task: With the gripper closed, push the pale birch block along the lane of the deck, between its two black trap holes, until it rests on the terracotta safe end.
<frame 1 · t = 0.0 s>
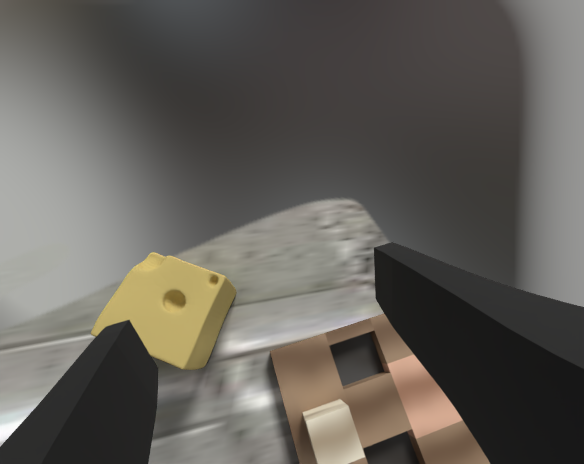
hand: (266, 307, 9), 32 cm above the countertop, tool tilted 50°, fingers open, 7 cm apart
block: (327, 427, 34), point 2 cm above the countertop, touching trap deck
cheese: (189, 314, 40), on the countertop
trap deck: (378, 402, 37), on the countertop
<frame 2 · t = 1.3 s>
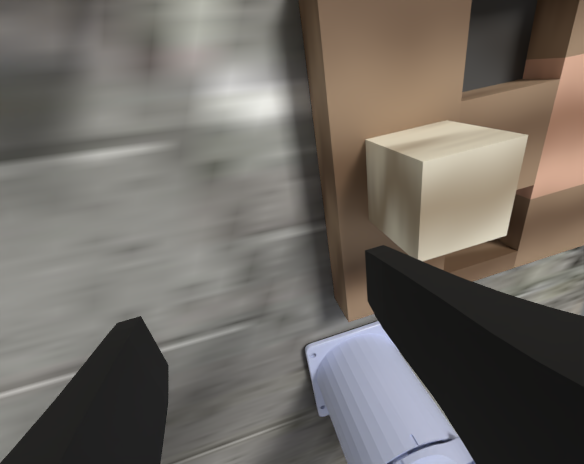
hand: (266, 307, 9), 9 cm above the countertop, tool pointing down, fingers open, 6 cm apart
block: (405, 172, 16), point 2 cm above the countertop, touching trap deck
trap deck: (481, 136, 19), on the countertop
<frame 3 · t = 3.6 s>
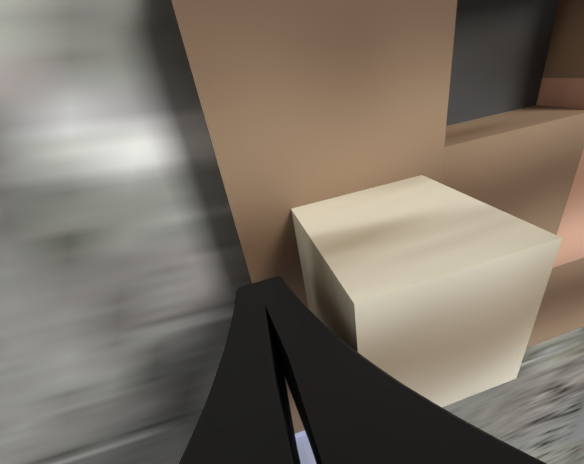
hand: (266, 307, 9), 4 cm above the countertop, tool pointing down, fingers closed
block: (361, 250, 11), point 3 cm above the countertop, touching gripper, trap deck
trap deck: (477, 182, 14), on the countertop
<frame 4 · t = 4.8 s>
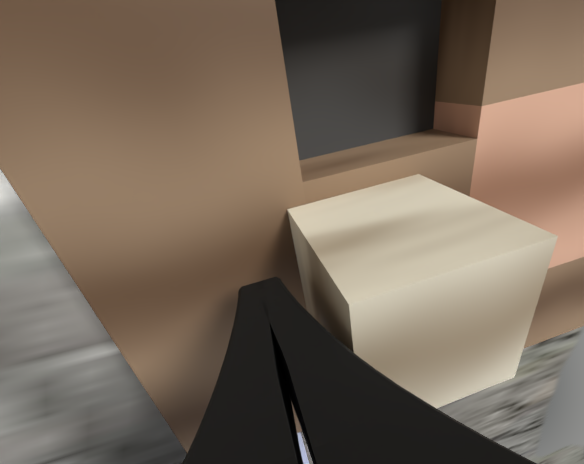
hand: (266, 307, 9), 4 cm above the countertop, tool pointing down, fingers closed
block: (359, 250, 11), point 3 cm above the countertop, touching gripper, trap deck
trap deck: (383, 207, 13), on the countertop
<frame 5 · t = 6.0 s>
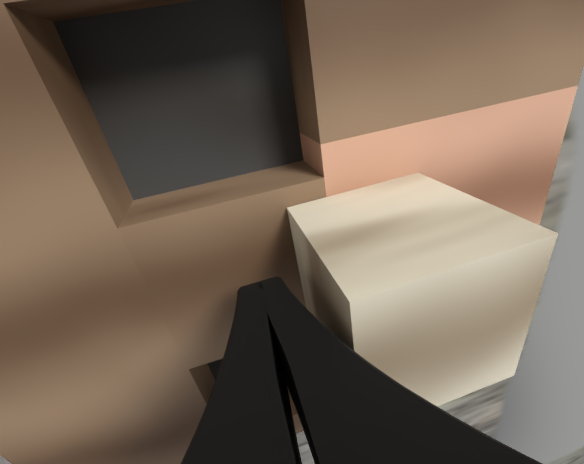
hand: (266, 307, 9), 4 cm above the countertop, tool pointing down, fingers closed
block: (358, 248, 11), point 3 cm above the countertop, touching gripper, trap deck
trap deck: (265, 240, 12), on the countertop
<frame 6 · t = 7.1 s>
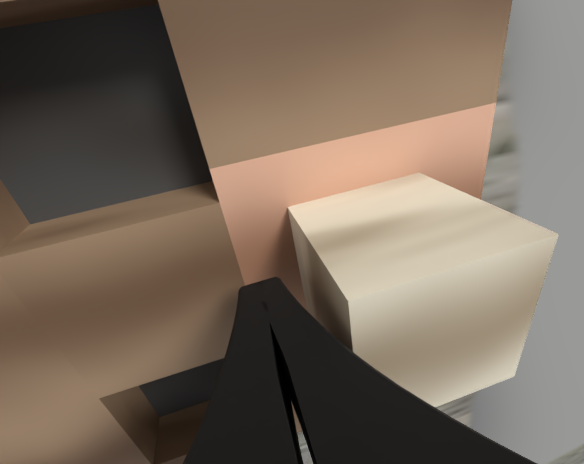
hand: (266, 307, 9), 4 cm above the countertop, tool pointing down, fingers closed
block: (359, 248, 11), point 2 cm above the countertop, touching gripper, trap deck
trap deck: (187, 261, 12), on the countertop
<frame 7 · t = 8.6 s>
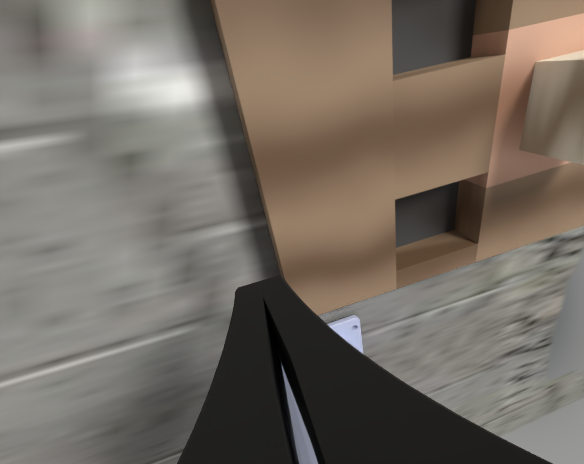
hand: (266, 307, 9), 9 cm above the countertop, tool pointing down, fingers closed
block: (561, 99, 17), point 2 cm above the countertop, touching trap deck
trap deck: (432, 121, 18), on the countertop
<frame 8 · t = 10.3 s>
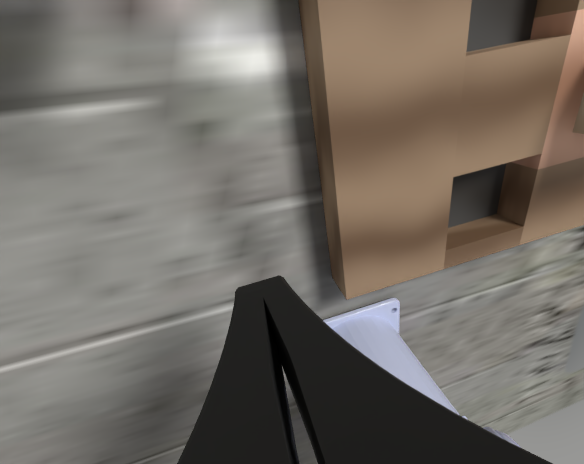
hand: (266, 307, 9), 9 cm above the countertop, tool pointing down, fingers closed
trap deck: (486, 103, 18), on the countertop
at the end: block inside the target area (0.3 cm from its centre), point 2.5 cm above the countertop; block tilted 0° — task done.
